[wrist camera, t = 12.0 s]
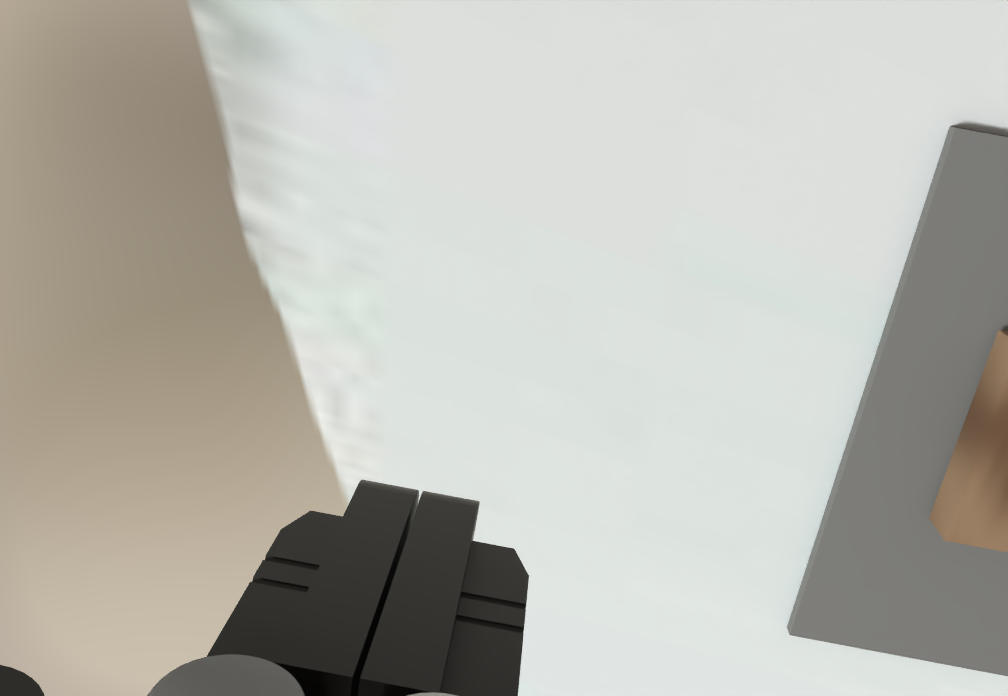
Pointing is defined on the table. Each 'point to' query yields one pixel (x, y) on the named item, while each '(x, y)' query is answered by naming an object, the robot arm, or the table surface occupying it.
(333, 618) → the robot arm
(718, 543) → the table surface
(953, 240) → the charcoal mat
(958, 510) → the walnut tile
